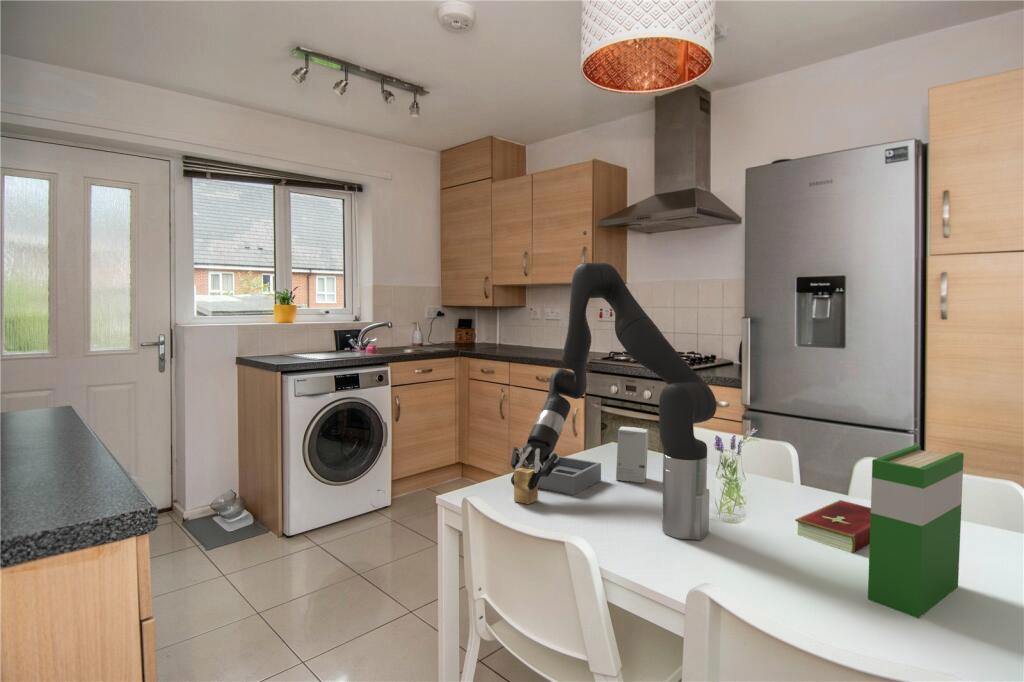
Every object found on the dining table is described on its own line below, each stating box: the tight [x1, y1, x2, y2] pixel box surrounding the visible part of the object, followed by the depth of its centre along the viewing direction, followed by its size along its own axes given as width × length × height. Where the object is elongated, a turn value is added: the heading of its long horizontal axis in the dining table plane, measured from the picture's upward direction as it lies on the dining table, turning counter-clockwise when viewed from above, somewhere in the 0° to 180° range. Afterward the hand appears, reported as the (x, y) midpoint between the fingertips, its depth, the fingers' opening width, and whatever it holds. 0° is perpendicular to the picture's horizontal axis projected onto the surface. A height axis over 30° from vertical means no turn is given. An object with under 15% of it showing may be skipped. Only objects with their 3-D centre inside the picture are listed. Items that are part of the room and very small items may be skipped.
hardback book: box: [867, 444, 965, 619], centre depth 98 cm, size 18×7×24 cm, turn 126°
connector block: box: [513, 466, 539, 505], centre depth 146 cm, size 4×4×8 cm
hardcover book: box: [794, 499, 871, 554], centre depth 125 cm, size 12×21×4 cm, turn 126°
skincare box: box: [615, 425, 650, 484], centre depth 164 cm, size 8×6×15 cm
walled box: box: [529, 455, 602, 496], centre depth 162 cm, size 16×16×5 cm
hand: (521, 486), depth 144 cm, fingers closed on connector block, 4 cm apart
